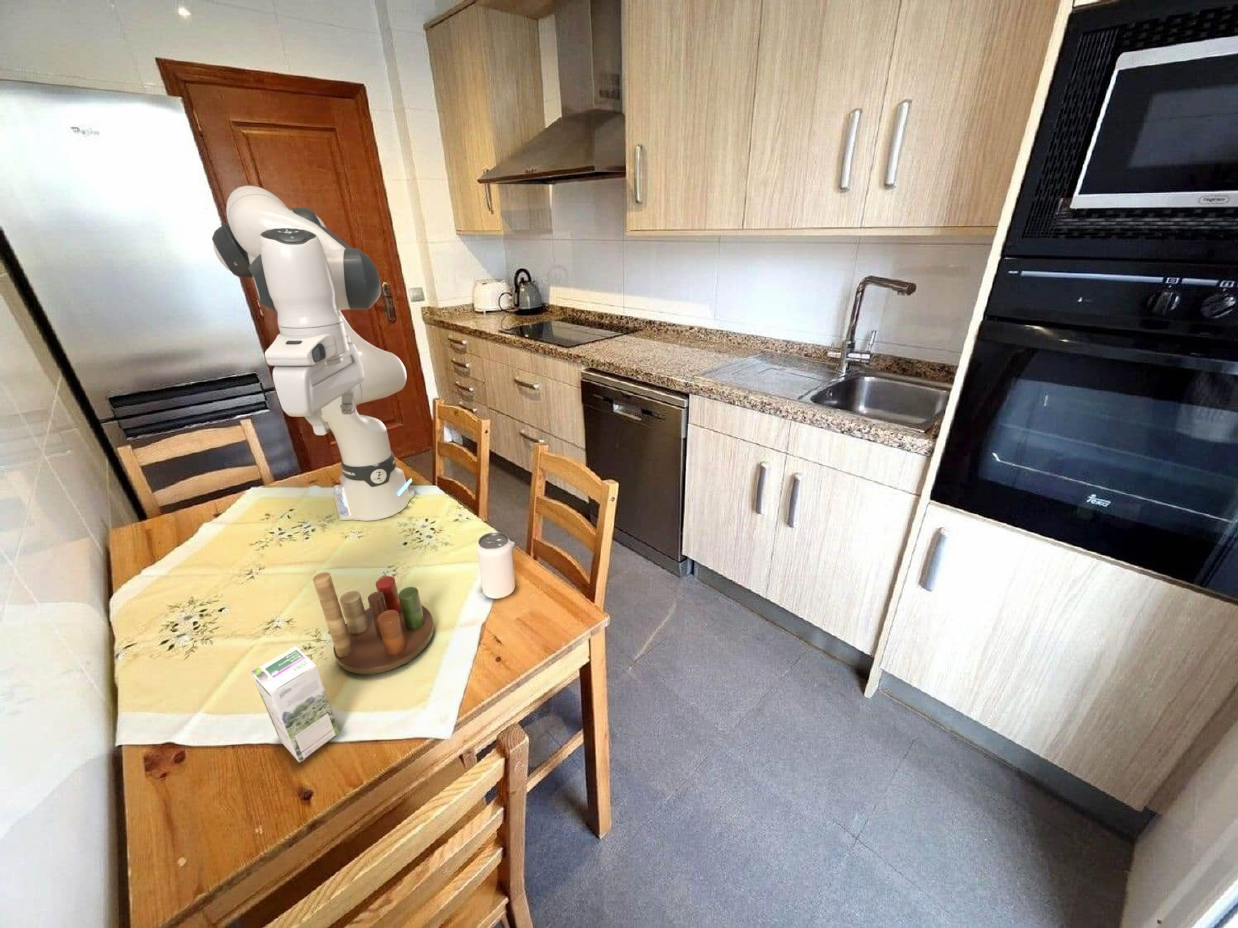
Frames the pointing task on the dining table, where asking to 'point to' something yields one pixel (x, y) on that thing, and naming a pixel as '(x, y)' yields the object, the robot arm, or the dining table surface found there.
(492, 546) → the can
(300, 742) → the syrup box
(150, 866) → the dining table surface
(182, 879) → the dining table surface
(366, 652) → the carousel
